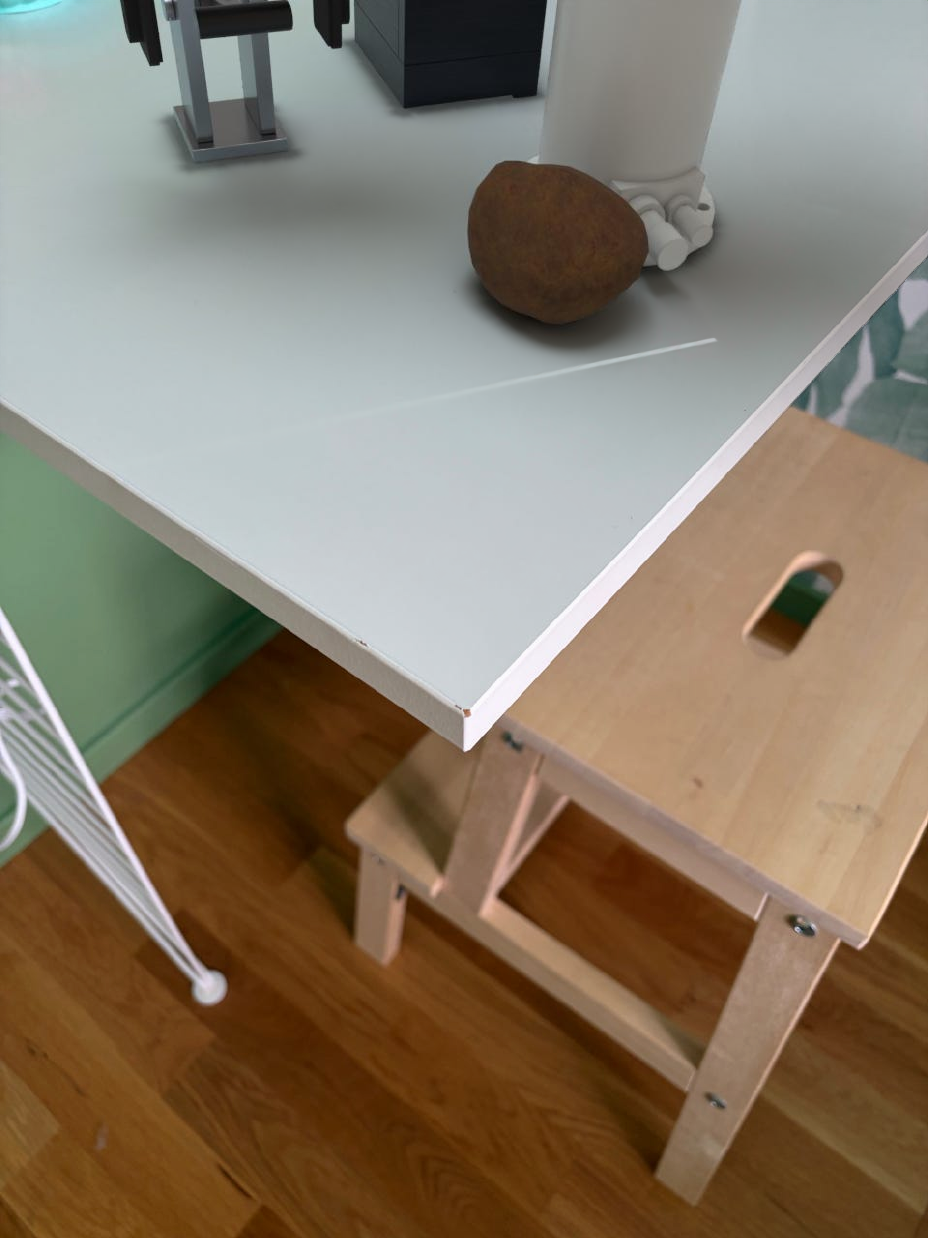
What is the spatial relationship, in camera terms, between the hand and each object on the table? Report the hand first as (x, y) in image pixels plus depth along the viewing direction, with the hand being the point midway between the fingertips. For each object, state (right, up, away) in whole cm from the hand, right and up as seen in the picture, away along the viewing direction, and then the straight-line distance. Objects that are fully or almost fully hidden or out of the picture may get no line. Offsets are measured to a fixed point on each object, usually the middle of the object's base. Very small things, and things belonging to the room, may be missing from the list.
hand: (241, 46), depth 55 cm
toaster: (+11, +9, +19) cm, 24 cm away
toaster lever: (-1, +2, +3) cm, 4 cm away
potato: (+16, -14, +2) cm, 22 cm away
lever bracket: (-3, 0, +11) cm, 12 cm away
